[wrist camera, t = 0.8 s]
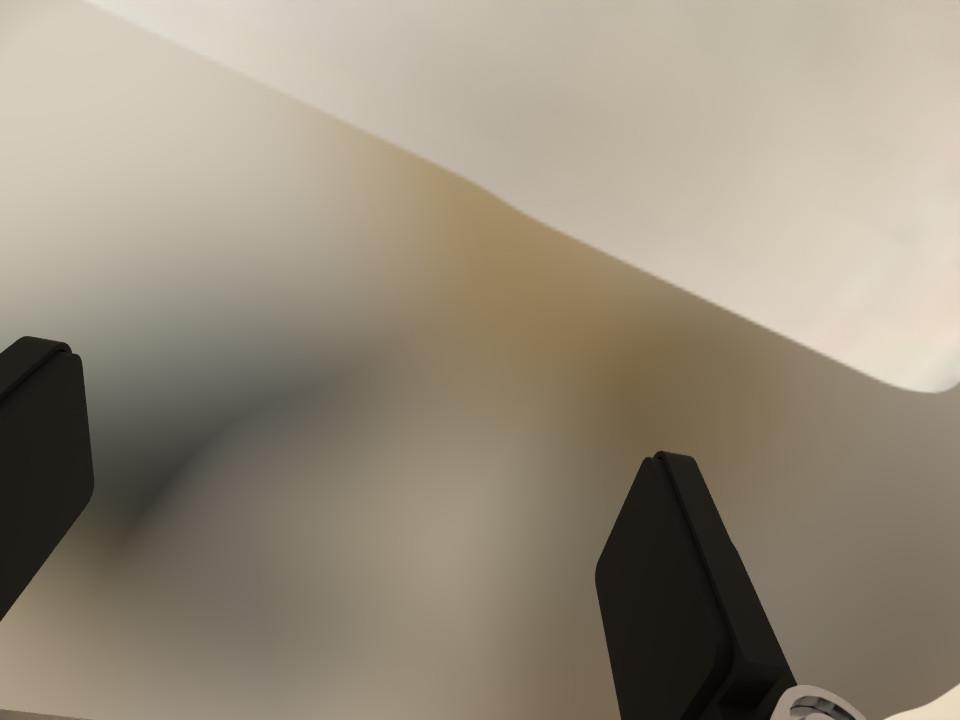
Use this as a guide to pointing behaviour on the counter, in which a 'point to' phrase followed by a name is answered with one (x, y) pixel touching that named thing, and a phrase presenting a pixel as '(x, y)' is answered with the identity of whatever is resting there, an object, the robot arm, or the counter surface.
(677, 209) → the counter surface
